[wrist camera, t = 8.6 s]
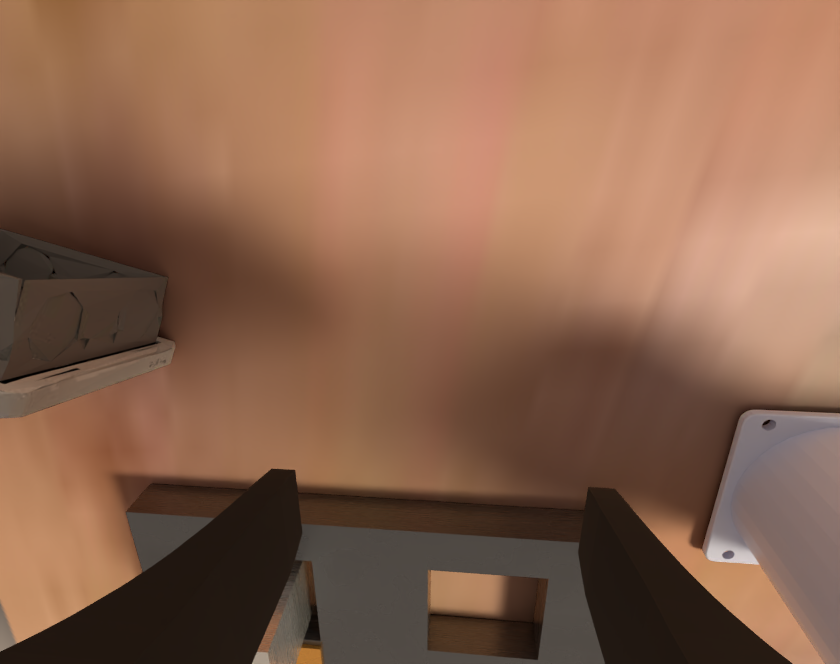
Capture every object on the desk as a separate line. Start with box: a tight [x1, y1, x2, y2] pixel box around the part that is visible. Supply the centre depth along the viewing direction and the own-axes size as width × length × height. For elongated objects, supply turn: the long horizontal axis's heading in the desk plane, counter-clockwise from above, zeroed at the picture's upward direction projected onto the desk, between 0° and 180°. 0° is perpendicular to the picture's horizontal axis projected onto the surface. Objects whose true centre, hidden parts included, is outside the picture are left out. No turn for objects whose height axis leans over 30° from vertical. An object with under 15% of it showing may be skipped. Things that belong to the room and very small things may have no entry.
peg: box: [252, 560, 316, 664], centre depth 24 cm, size 4×4×6 cm
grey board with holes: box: [126, 484, 605, 664], centre depth 25 cm, size 23×10×2 cm, turn 90°
